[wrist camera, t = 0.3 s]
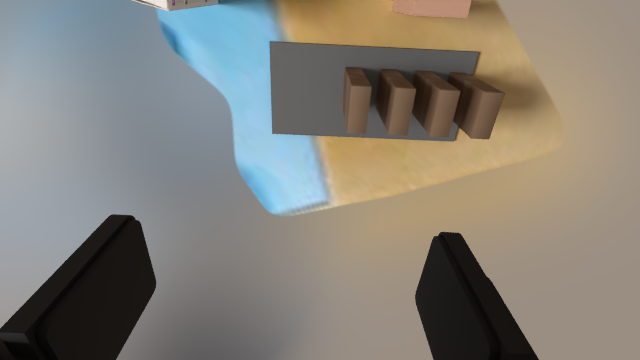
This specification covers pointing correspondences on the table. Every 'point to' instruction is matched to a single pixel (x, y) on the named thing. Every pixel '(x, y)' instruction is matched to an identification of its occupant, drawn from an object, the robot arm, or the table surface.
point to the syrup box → (177, 3)
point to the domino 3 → (433, 7)
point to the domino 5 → (475, 105)
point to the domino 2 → (394, 101)
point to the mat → (328, 80)
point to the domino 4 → (434, 103)
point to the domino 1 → (356, 100)
